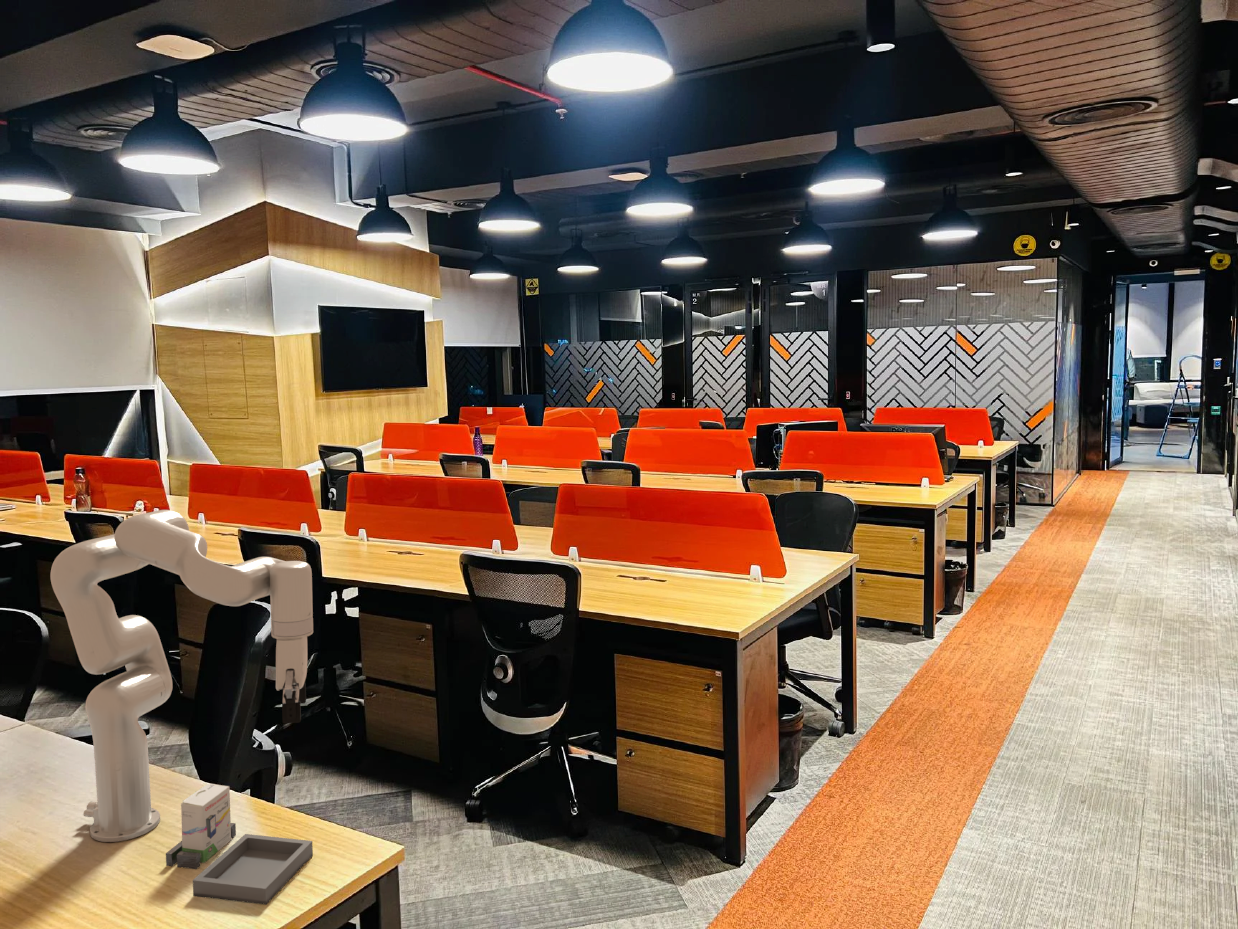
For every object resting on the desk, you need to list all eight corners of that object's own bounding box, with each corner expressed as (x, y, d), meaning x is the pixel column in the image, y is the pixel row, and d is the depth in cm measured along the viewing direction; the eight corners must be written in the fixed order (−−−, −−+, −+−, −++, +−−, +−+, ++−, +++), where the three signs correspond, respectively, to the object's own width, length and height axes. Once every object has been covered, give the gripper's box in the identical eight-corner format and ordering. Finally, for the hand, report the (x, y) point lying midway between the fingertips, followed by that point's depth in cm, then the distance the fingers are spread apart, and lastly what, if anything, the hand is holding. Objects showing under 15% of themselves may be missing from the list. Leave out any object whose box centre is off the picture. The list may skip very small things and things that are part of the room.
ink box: (210, 838, 180) (207, 782, 179) (233, 841, 179) (230, 784, 178) (181, 861, 172) (178, 802, 170) (205, 864, 171) (202, 805, 169)
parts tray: (193, 896, 160) (192, 880, 160) (246, 848, 176) (245, 834, 176) (266, 904, 158) (265, 888, 157) (312, 855, 174) (312, 841, 173)
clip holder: (166, 866, 170) (165, 853, 170) (207, 832, 182) (207, 820, 182) (196, 869, 169) (195, 856, 168) (235, 835, 181) (235, 823, 181)
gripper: (277, 615, 178) (279, 698, 180) (264, 641, 162) (267, 732, 164) (316, 613, 180) (318, 695, 182) (308, 638, 163) (310, 729, 165)
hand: (294, 712), depth 173 cm, fingers open, 9 cm apart
